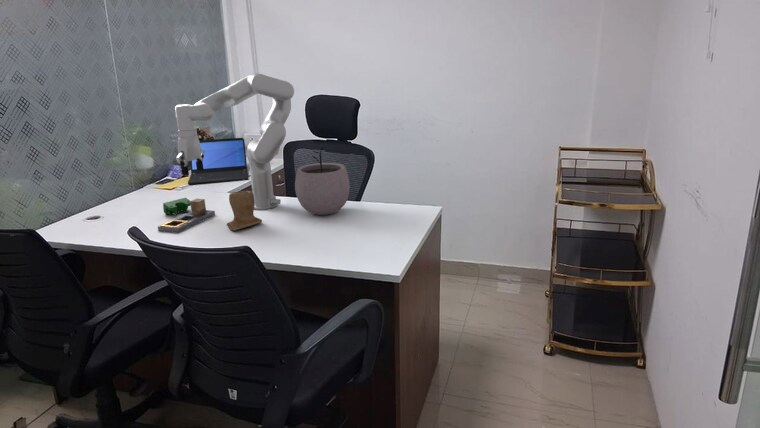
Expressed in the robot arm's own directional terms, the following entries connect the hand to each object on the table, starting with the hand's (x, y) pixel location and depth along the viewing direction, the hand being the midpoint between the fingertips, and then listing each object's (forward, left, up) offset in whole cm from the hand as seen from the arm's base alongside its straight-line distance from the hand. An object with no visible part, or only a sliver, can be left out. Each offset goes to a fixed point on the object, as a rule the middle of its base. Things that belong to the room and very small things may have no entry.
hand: (193, 172), depth 236 cm
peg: (0, 0, -21) cm, 21 cm away
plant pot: (-53, -19, -21) cm, 60 cm away
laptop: (+42, -73, -21) cm, 86 cm away
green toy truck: (+14, -3, -21) cm, 25 cm away
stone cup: (-27, +6, -21) cm, 35 cm away
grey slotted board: (0, +8, -21) cm, 22 cm away
